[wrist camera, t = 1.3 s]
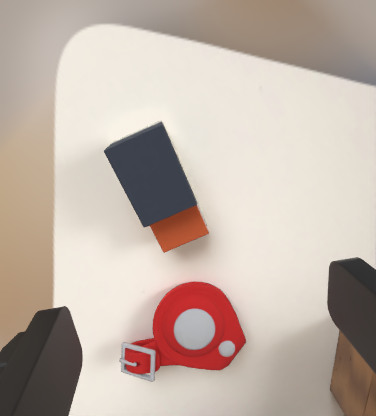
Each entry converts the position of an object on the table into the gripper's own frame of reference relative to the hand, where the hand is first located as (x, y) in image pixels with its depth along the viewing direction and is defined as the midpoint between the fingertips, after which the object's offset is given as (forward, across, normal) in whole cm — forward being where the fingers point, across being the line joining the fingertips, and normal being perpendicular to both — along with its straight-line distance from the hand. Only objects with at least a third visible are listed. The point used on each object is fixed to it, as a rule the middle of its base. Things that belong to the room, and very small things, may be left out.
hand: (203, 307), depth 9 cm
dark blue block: (+17, +1, +1) cm, 17 cm away
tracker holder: (+17, +2, +15) cm, 23 cm away
